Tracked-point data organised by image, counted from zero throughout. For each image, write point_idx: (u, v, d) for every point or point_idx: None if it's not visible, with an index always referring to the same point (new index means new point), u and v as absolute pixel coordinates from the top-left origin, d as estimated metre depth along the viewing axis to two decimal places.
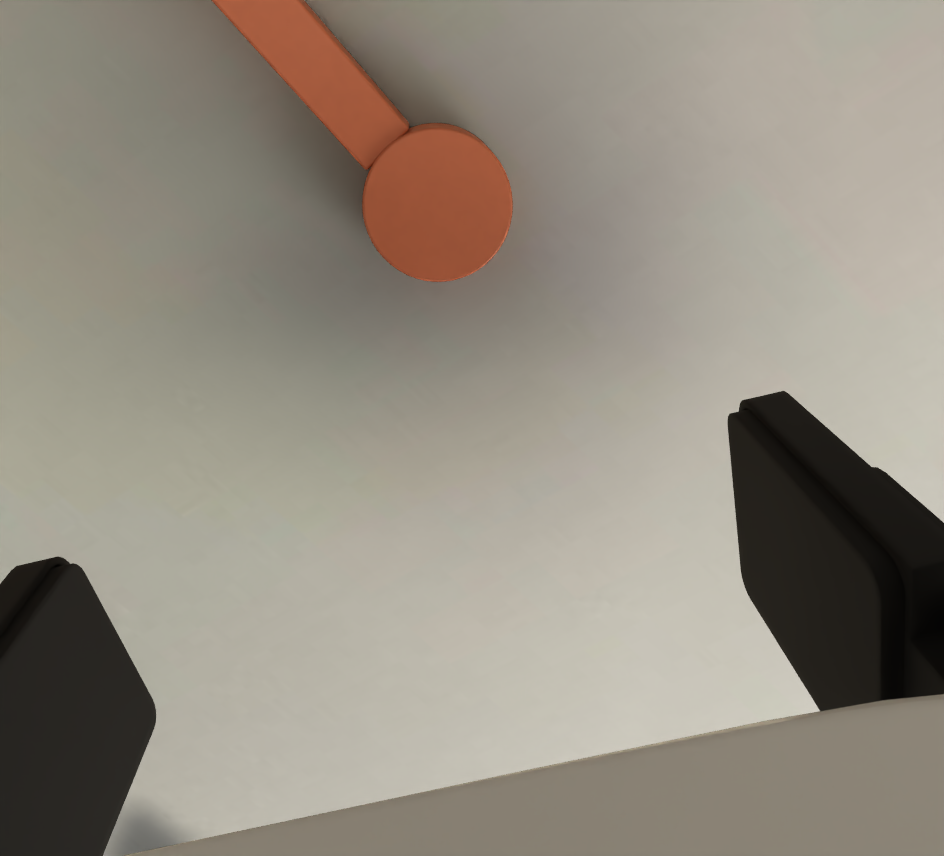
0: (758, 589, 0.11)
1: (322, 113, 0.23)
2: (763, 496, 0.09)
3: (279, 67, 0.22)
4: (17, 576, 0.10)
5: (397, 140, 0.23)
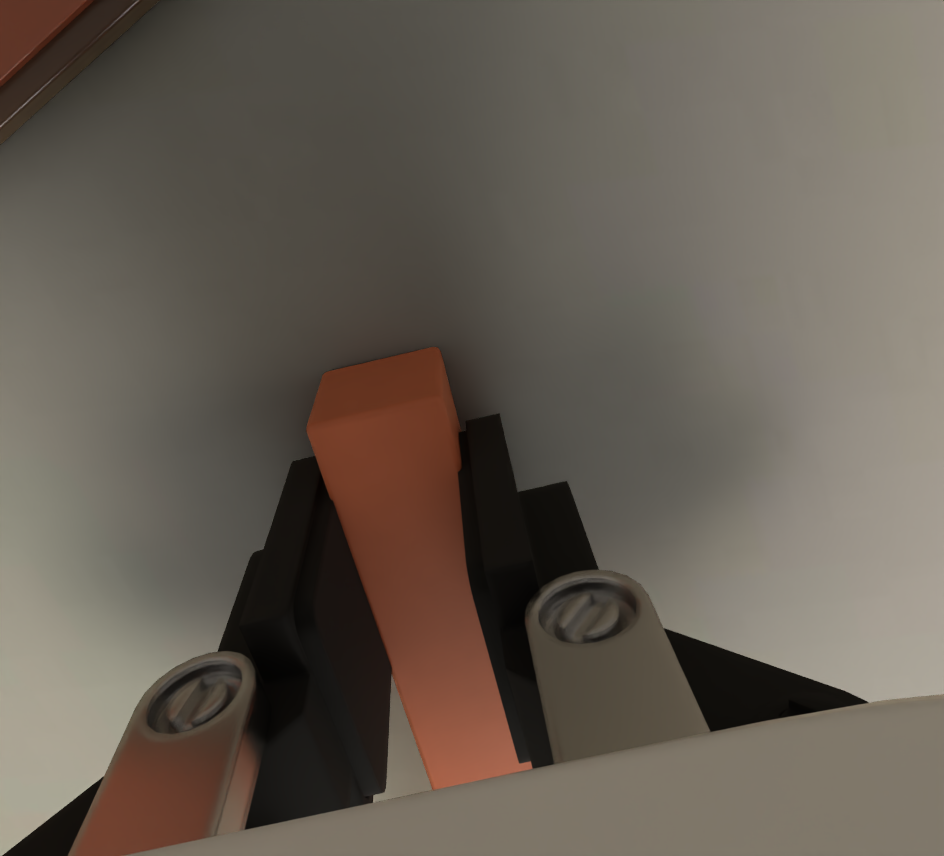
0: None
1: None
2: None
3: (430, 757, 0.12)
4: (301, 467, 0.11)
5: None
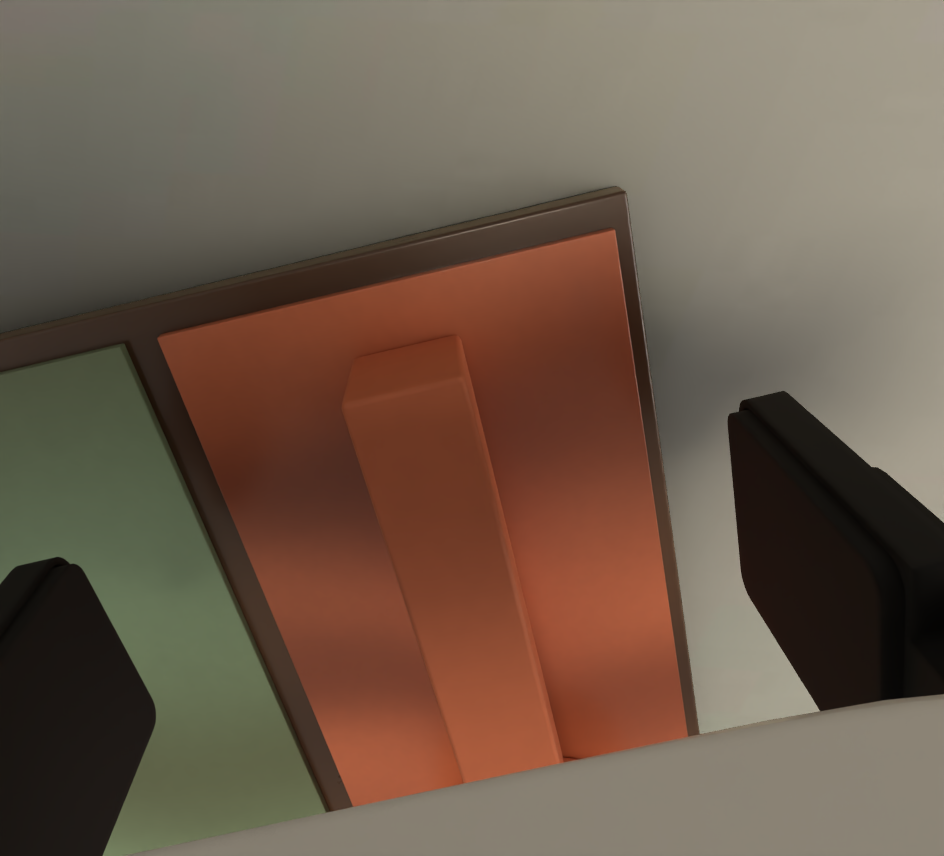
0: (758, 589, 0.11)
1: (472, 781, 0.14)
2: (763, 496, 0.09)
3: (450, 715, 0.13)
4: (17, 576, 0.10)
5: None
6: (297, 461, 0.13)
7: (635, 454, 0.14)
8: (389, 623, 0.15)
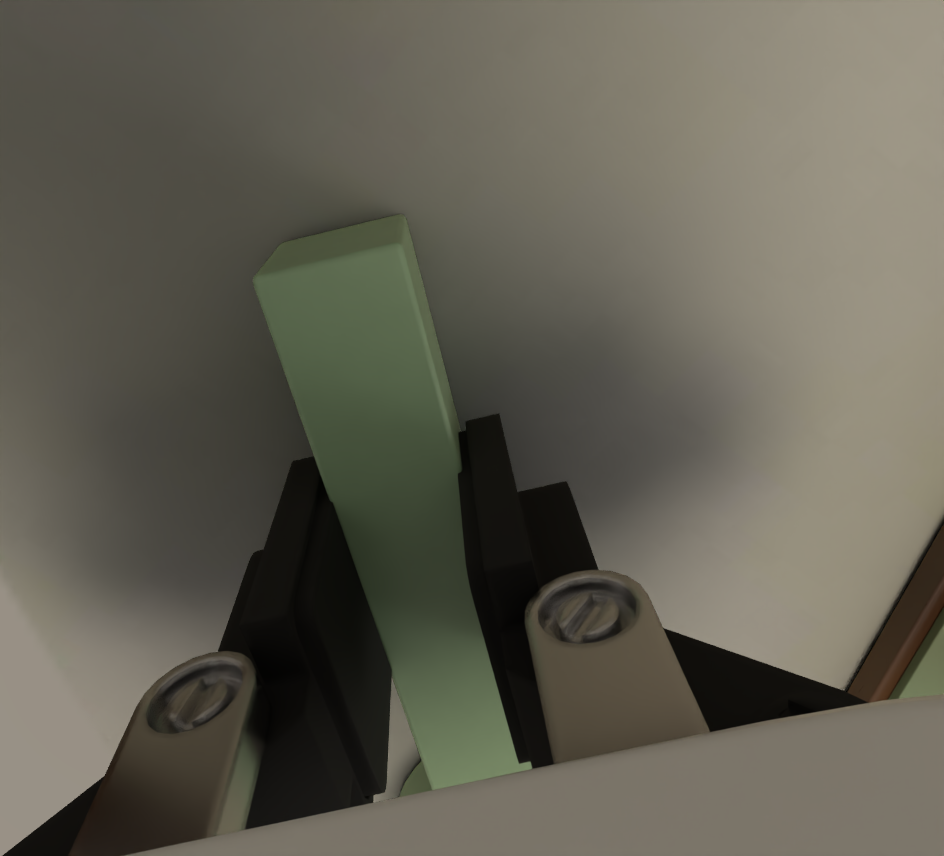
0: None
1: None
2: None
3: None
4: (301, 467, 0.11)
5: None
6: None
7: None
8: None
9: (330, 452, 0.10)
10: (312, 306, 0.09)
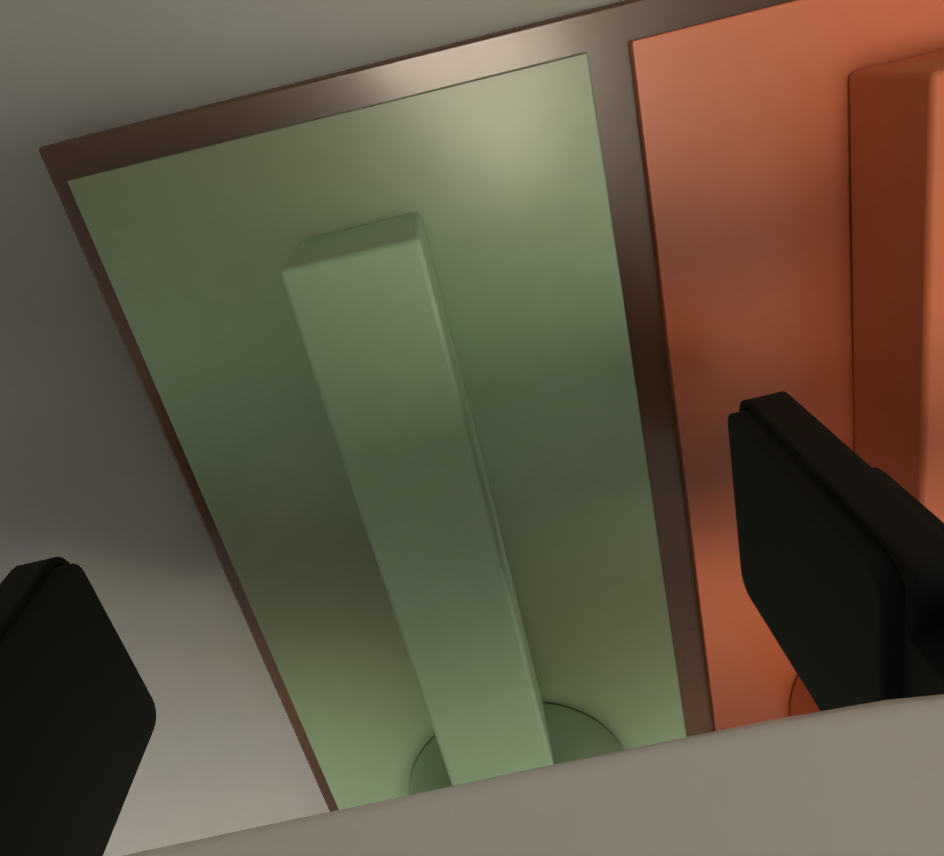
0: (758, 589, 0.11)
1: None
2: (763, 496, 0.09)
3: (932, 503, 0.11)
4: (17, 576, 0.10)
5: None
6: (752, 210, 0.11)
7: None
8: None
9: (351, 436, 0.10)
10: (336, 297, 0.10)
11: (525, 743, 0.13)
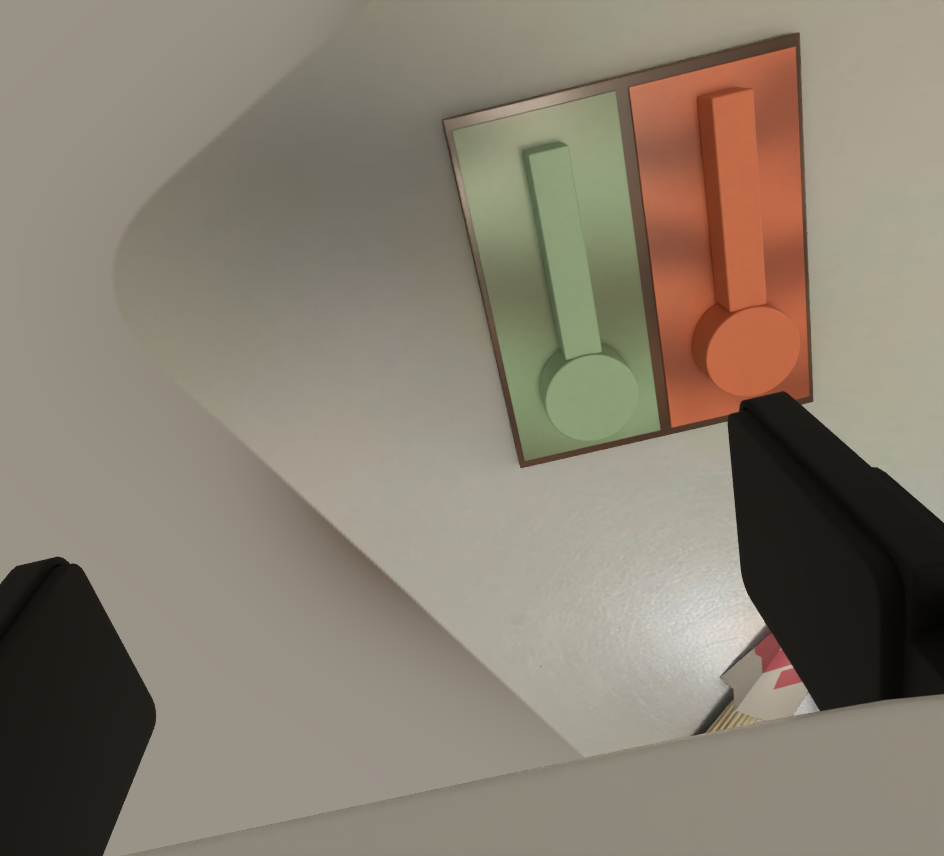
0: (758, 589, 0.11)
1: (730, 271, 0.36)
2: (763, 496, 0.09)
3: (727, 236, 0.35)
4: (17, 576, 0.10)
5: (758, 307, 0.36)
6: (668, 141, 0.35)
7: (794, 141, 0.35)
8: (690, 220, 0.37)
9: (543, 208, 0.34)
10: (543, 162, 0.33)
11: (591, 333, 0.37)
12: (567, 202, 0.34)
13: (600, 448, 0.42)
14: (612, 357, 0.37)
